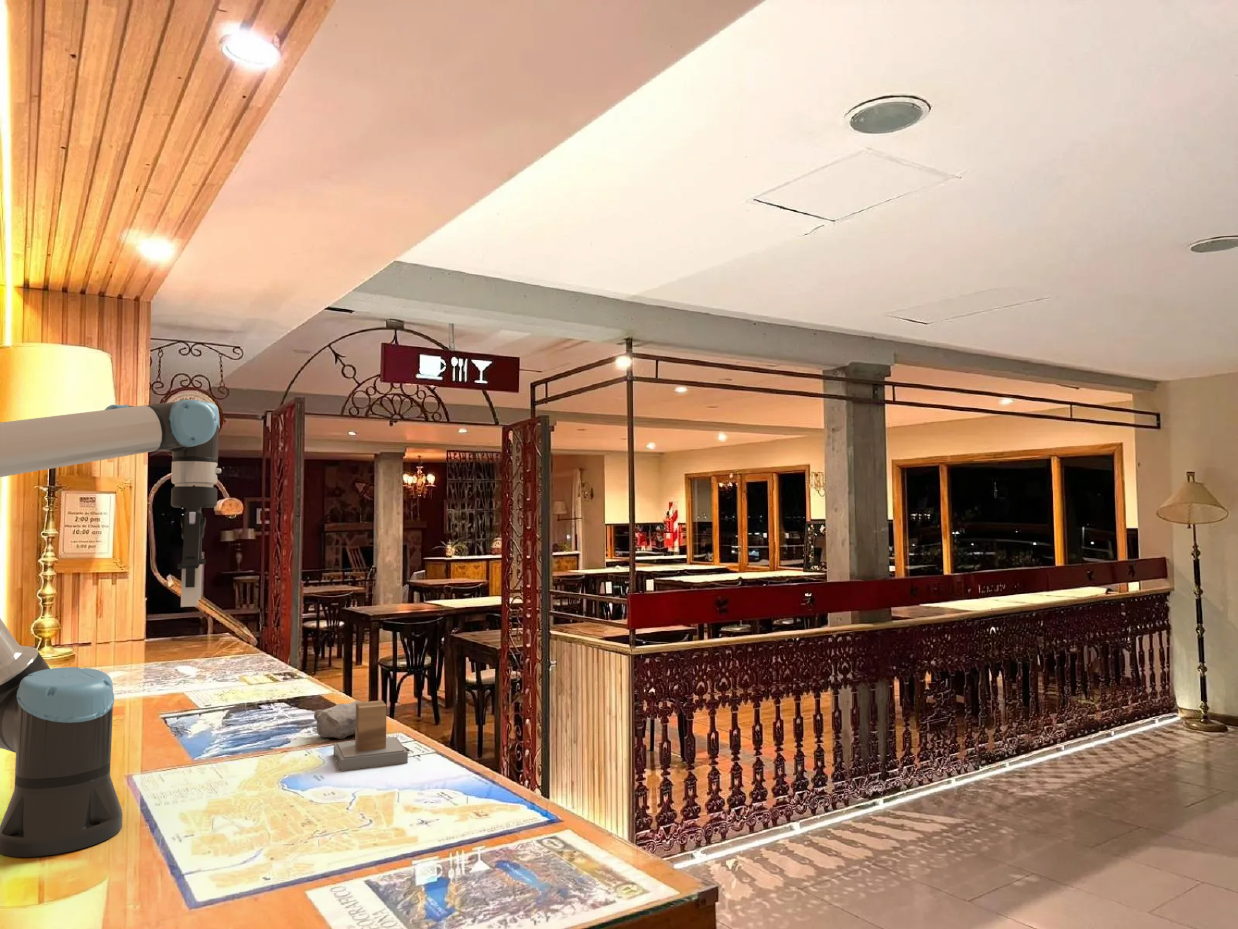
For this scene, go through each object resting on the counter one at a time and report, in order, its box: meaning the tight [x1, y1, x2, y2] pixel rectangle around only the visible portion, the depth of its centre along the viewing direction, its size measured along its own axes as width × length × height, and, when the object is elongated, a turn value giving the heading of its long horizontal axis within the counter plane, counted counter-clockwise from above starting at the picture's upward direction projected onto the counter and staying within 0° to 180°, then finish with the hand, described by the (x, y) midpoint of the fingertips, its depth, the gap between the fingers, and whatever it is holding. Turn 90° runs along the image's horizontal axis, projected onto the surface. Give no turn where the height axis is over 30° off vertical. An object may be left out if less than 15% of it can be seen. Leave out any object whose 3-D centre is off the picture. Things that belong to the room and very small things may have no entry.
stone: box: [313, 699, 362, 740], centre depth 178 cm, size 8×12×7 cm, turn 124°
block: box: [354, 699, 388, 751], centre depth 161 cm, size 5×5×8 cm
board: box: [333, 736, 409, 771], centre depth 161 cm, size 12×12×2 cm
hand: (191, 603), depth 152 cm, fingers open, 13 cm apart
